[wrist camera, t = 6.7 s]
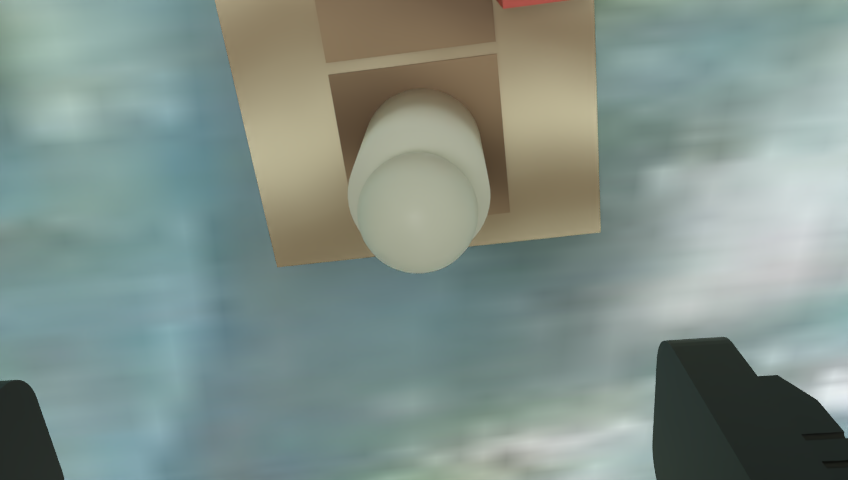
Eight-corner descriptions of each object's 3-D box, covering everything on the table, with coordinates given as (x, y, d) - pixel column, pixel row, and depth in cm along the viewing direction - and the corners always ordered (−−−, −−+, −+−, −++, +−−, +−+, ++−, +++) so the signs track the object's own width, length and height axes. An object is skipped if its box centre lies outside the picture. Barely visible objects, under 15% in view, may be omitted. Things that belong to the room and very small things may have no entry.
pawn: (485, 194, 25) (504, 300, 18) (374, 206, 25) (349, 316, 18) (474, 81, 23) (490, 149, 16) (355, 96, 24) (320, 168, 17)
